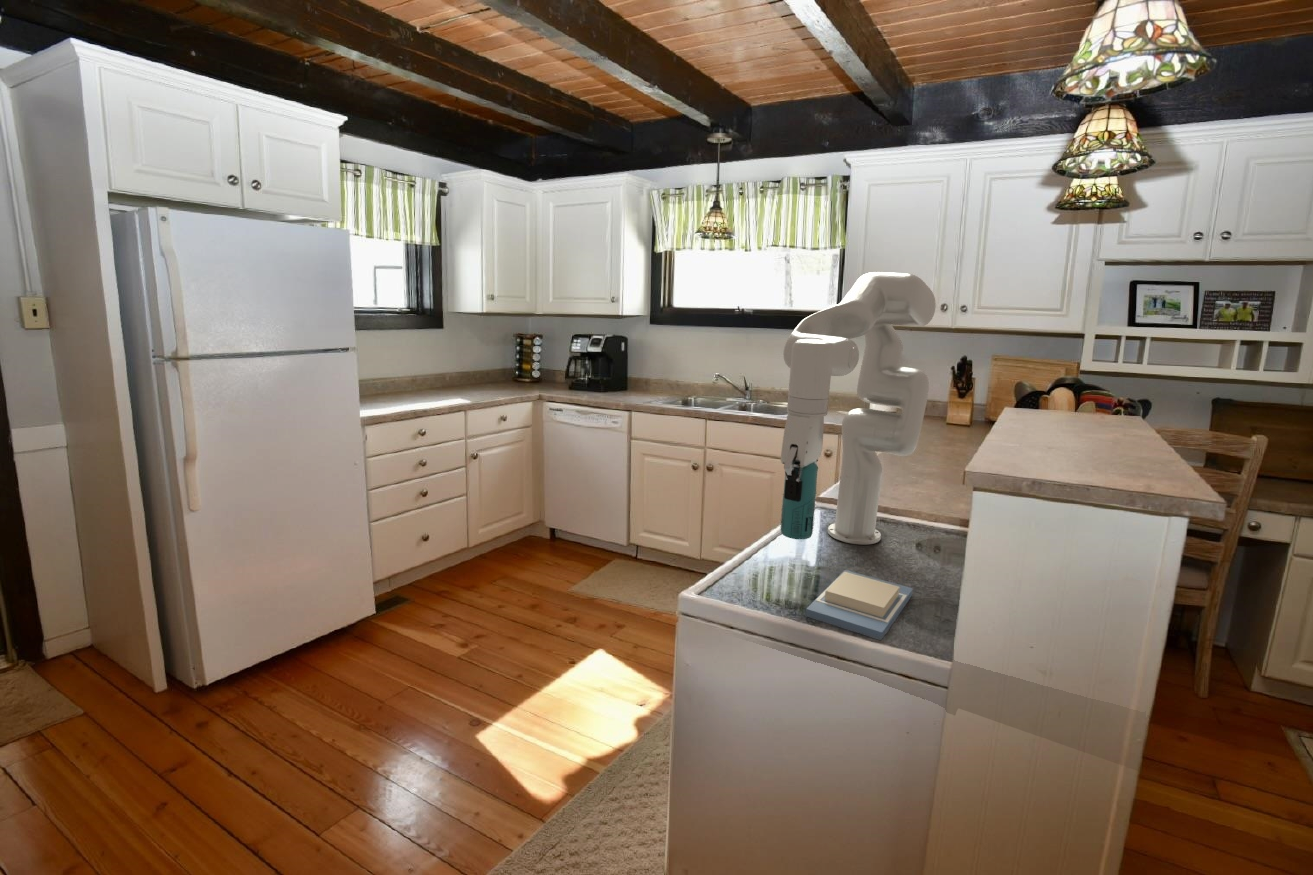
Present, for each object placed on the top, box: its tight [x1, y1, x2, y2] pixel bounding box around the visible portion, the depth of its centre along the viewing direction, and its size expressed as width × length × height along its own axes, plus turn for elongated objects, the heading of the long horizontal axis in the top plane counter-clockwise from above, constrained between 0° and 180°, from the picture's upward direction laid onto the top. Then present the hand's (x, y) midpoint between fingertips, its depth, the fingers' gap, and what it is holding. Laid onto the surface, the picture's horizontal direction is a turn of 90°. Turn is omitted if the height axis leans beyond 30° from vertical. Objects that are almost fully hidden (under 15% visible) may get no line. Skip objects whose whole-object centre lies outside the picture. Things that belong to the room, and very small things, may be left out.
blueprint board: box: [805, 569, 914, 641], centre depth 134 cm, size 22×14×4 cm, turn 147°
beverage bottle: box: [779, 462, 819, 540], centre depth 135 cm, size 6×7×20 cm
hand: (799, 494), depth 136 cm, fingers closed on beverage bottle, 6 cm apart
